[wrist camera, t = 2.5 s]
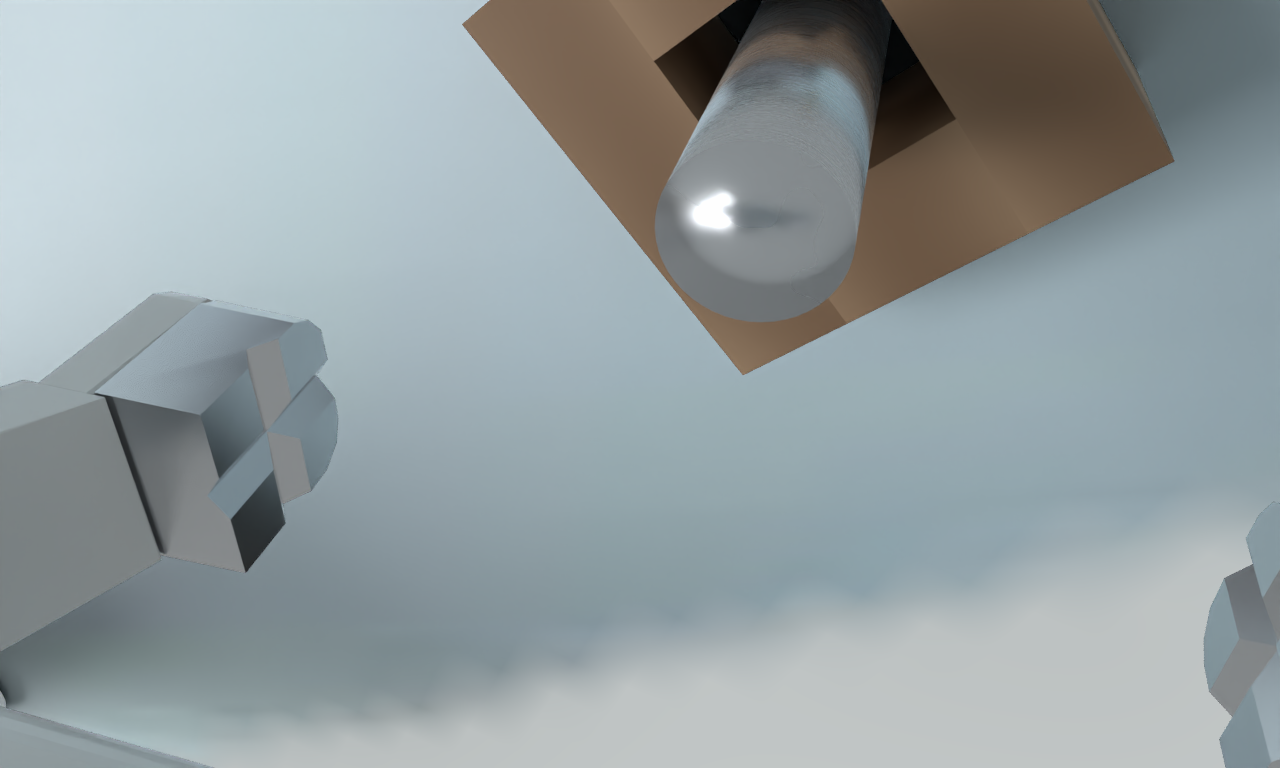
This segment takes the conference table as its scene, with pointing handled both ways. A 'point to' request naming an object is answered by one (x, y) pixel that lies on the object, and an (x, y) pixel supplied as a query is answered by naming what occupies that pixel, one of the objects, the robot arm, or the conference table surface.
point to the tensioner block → (902, 141)
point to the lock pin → (778, 163)
